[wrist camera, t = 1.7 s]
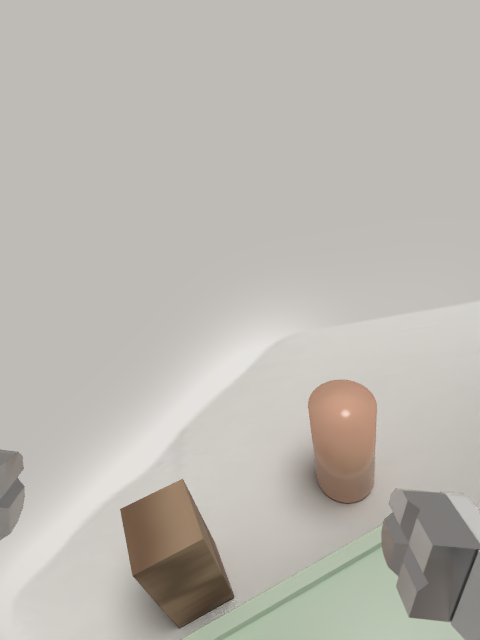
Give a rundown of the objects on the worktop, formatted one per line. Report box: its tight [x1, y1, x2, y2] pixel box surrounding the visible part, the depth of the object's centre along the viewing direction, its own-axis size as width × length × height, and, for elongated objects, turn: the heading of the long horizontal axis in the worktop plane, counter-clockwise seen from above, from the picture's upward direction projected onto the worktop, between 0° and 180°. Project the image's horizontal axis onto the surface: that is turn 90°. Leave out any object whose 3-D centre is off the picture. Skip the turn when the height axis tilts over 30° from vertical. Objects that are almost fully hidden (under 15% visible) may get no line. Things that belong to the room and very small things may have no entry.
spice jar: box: [308, 380, 377, 503], centre depth 34 cm, size 5×5×10 cm
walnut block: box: [120, 479, 234, 628], centre depth 29 cm, size 4×4×10 cm
